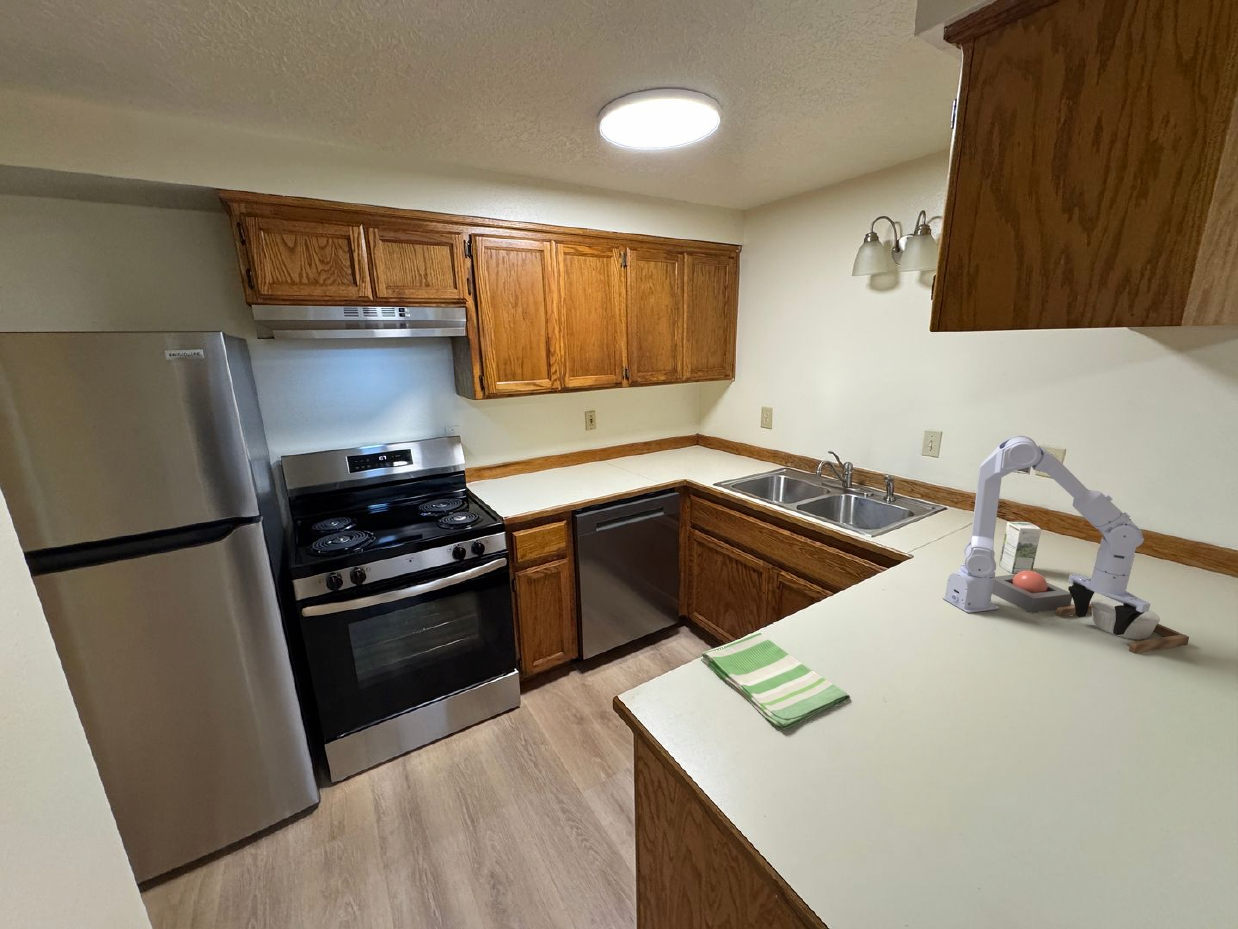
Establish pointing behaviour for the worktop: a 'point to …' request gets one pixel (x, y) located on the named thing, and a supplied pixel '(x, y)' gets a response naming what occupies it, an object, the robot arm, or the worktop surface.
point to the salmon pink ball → (1030, 581)
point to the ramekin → (1106, 619)
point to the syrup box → (1019, 547)
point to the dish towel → (773, 680)
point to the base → (1031, 595)
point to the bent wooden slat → (1168, 640)
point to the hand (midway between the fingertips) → (1098, 624)
